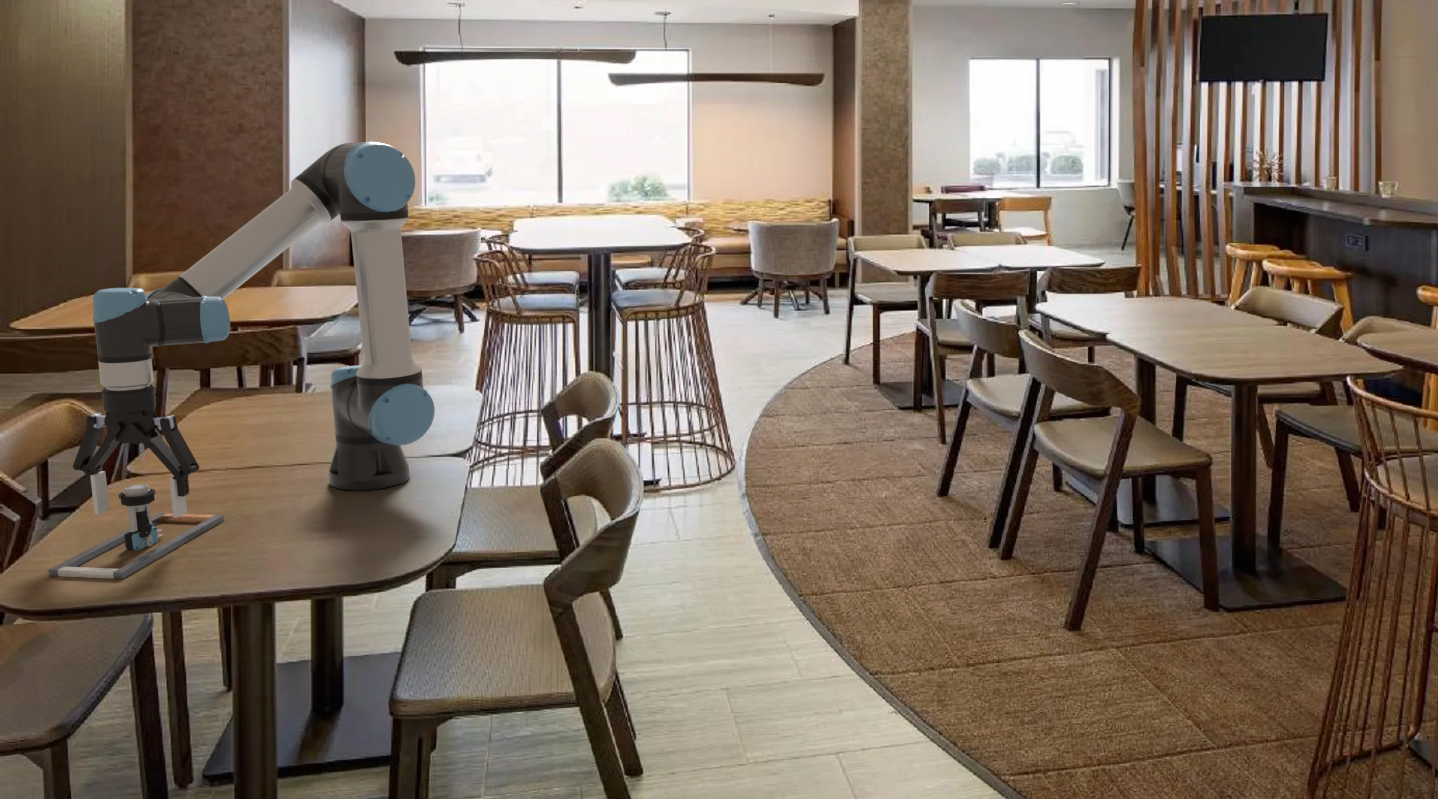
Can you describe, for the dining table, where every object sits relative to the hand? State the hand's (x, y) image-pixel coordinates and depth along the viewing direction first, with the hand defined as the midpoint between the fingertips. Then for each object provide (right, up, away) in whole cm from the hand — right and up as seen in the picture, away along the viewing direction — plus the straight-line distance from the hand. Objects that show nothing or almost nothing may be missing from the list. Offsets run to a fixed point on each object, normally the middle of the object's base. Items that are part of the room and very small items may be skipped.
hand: (140, 513), depth 182 cm
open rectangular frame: (0, -5, 0) cm, 5 cm away
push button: (0, -5, +1) cm, 6 cm away
